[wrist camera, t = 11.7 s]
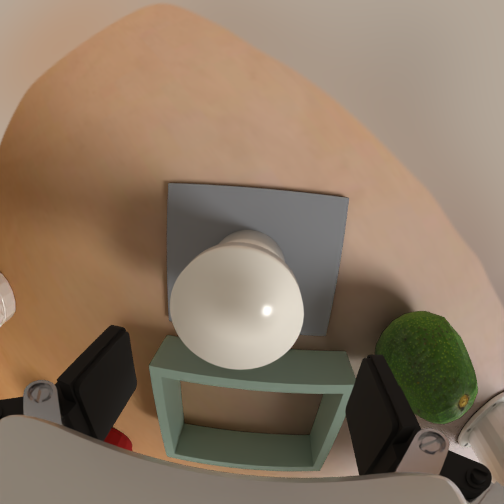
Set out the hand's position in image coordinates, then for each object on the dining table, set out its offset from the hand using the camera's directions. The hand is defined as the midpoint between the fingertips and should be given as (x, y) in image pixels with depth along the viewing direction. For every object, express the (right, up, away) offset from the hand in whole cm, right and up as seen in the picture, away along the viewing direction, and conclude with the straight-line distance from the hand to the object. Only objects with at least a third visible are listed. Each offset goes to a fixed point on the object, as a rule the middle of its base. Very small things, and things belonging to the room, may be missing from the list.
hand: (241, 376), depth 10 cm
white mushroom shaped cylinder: (0, +4, +13) cm, 13 cm away
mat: (0, +4, +13) cm, 14 cm away
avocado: (+15, -3, +14) cm, 21 cm away
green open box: (0, -11, +17) cm, 20 cm away
